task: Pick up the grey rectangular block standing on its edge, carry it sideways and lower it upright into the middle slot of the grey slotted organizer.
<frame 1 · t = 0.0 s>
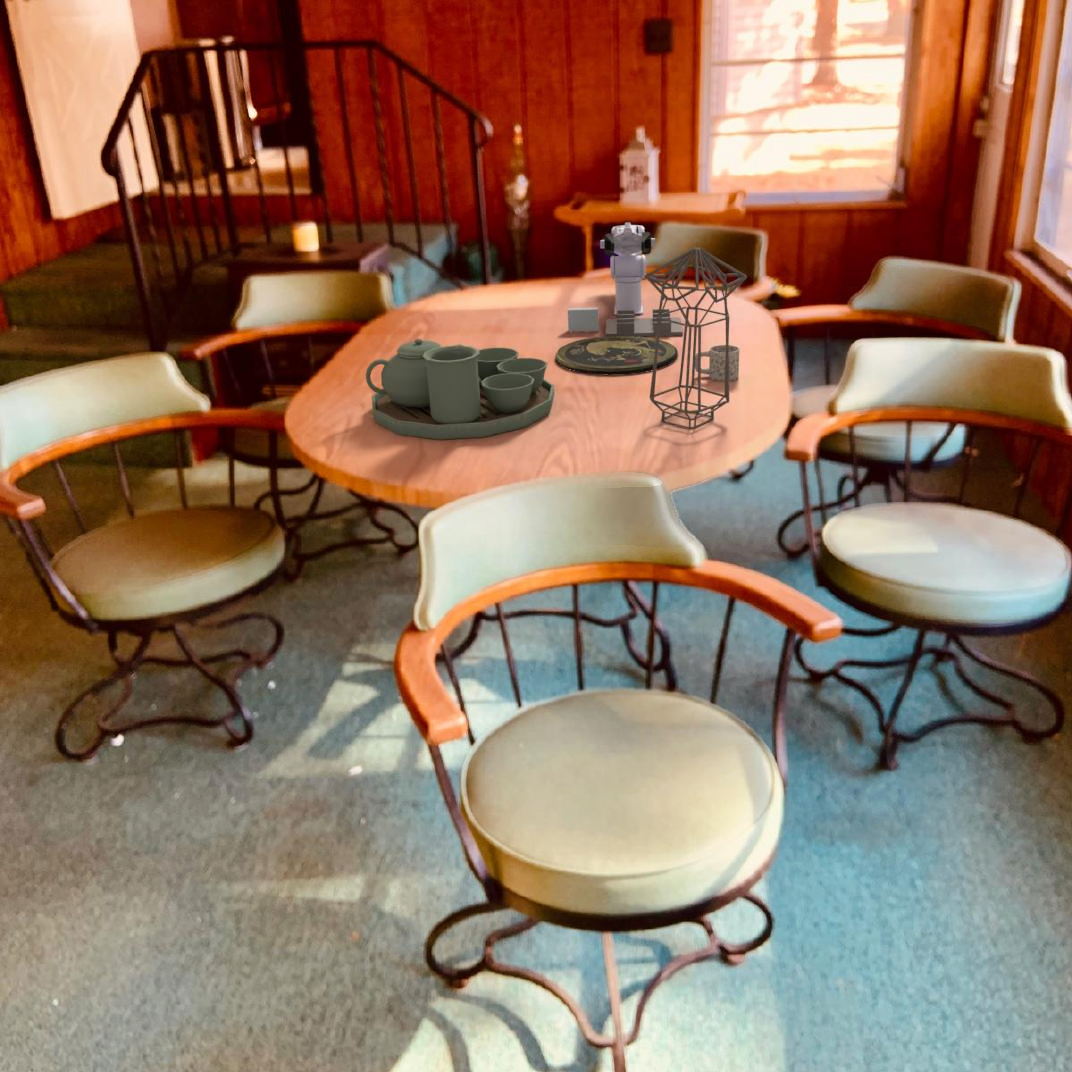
hand: (627, 246, 276), 22 cm above the table, tool horizontal, fingers open, 7 cm apart
tea set: (463, 410, 235), on the table
grey rectangular block: (583, 331, 287), on the table
geometric lantern: (692, 421, 220), on the table
decorative plate: (616, 359, 264), on the table
mug: (716, 377, 246), on the table
grey slotted organizer: (643, 329, 285), on the table
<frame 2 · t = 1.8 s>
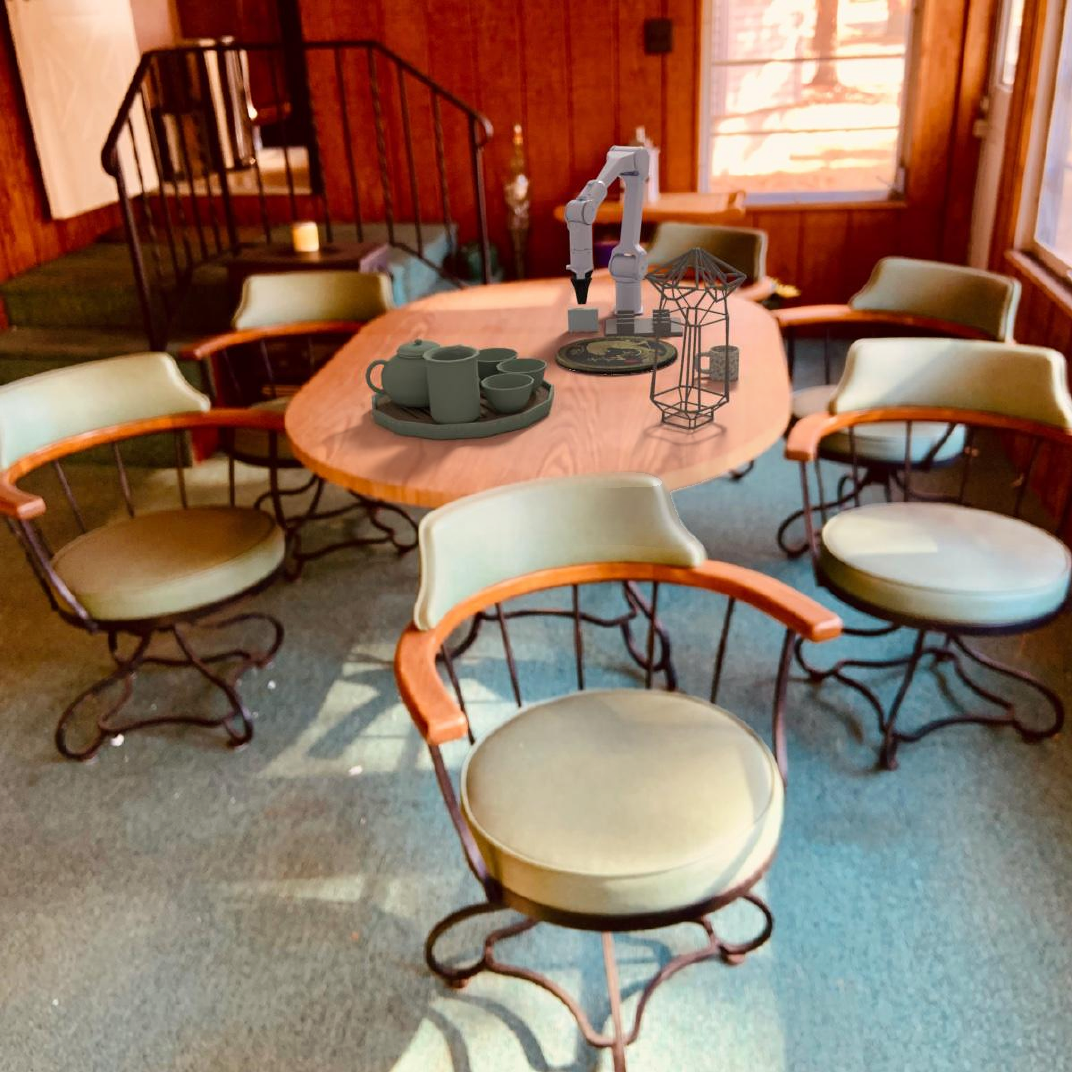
hand: (582, 300, 283), 8 cm above the table, tool pointing down, fingers open, 7 cm apart
nothing on the table moved.
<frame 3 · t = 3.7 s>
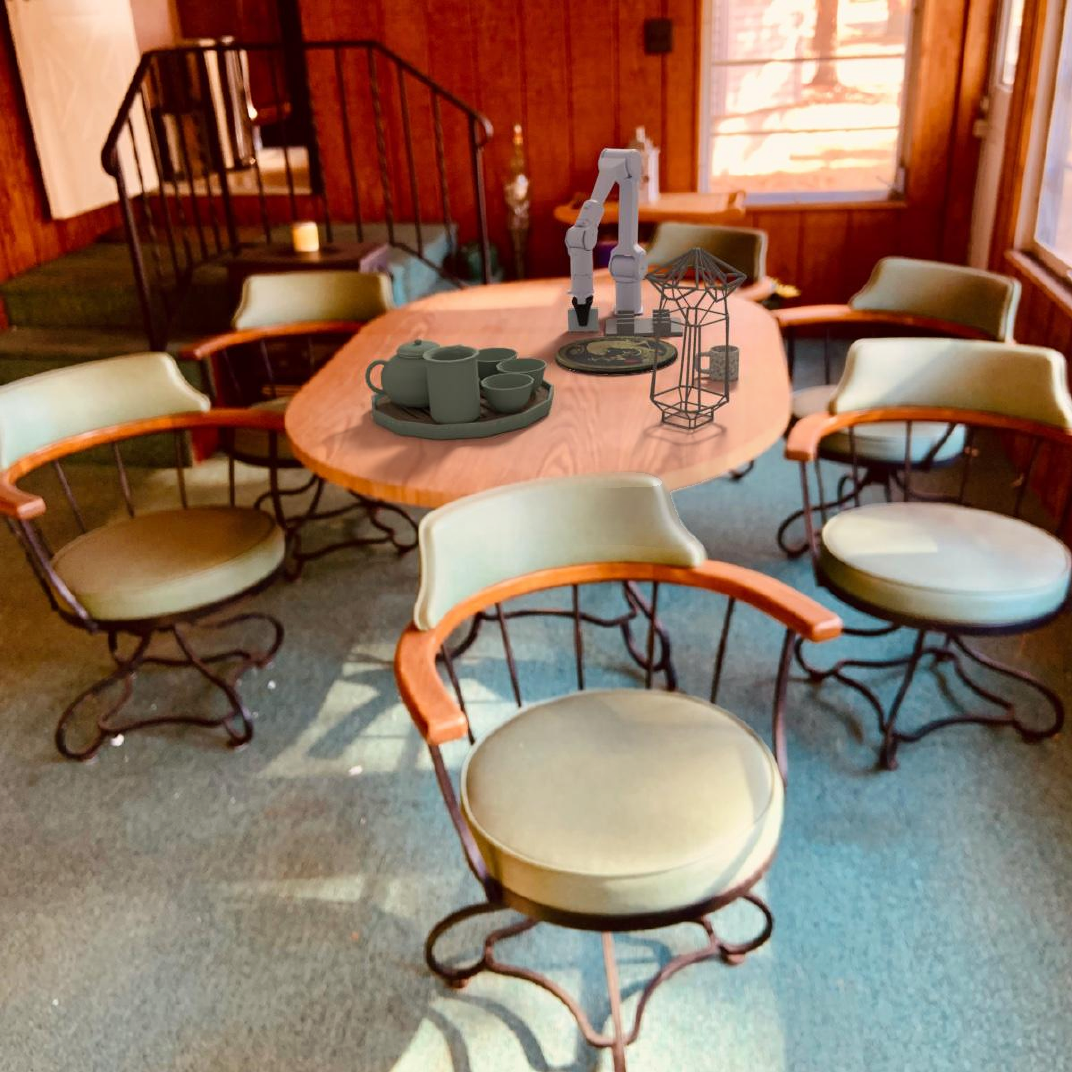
hand: (583, 324, 286), 2 cm above the table, tool pointing down, fingers closed on grey rectangular block, 2 cm apart
grey rectangular block: (583, 330, 287), on the table, touching gripper
everything else where it was.
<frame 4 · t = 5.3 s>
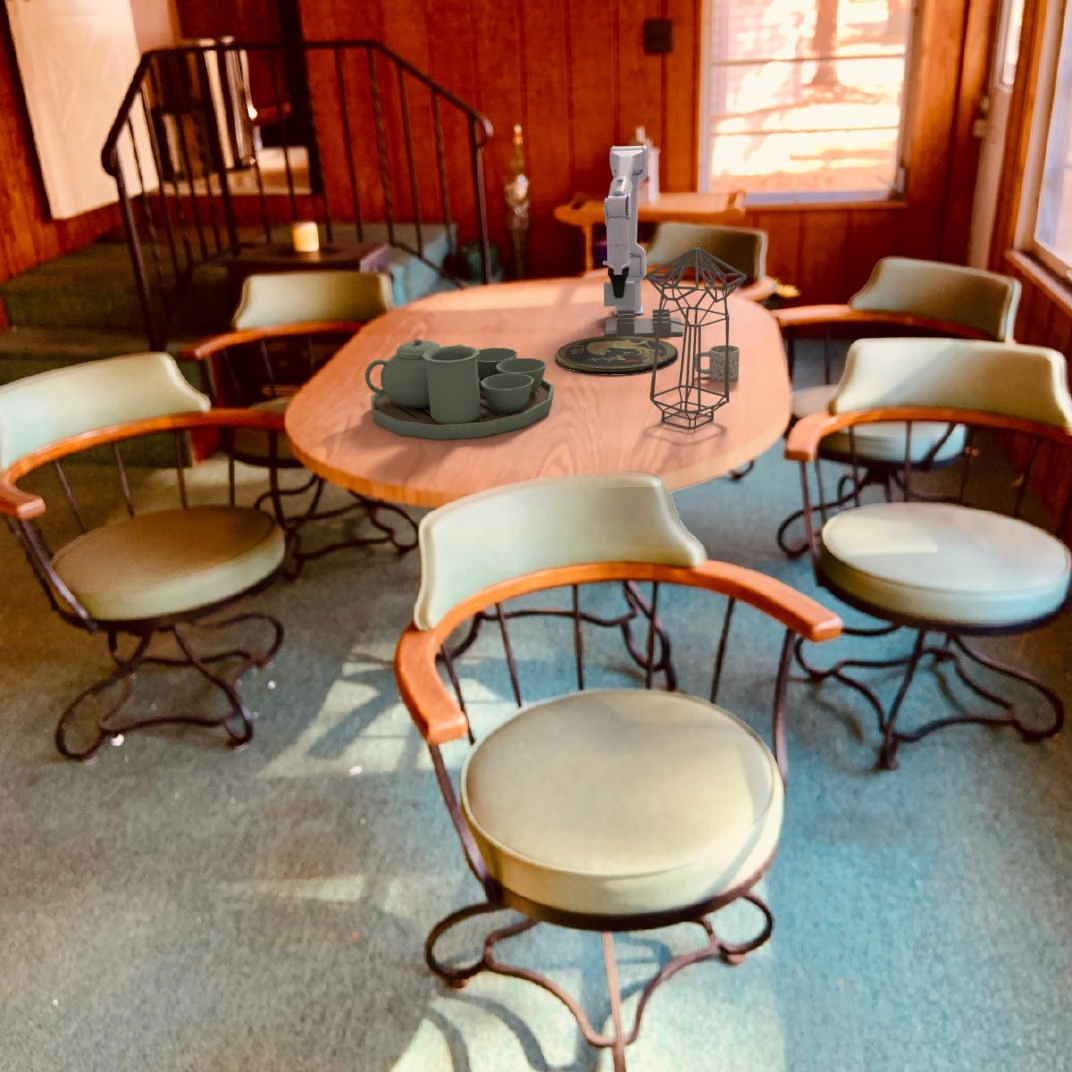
hand: (619, 296, 282), 9 cm above the table, tool pointing down, fingers closed on grey rectangular block
grey rectangular block: (619, 305, 283), point 7 cm above the table, touching gripper
everything else where it was.
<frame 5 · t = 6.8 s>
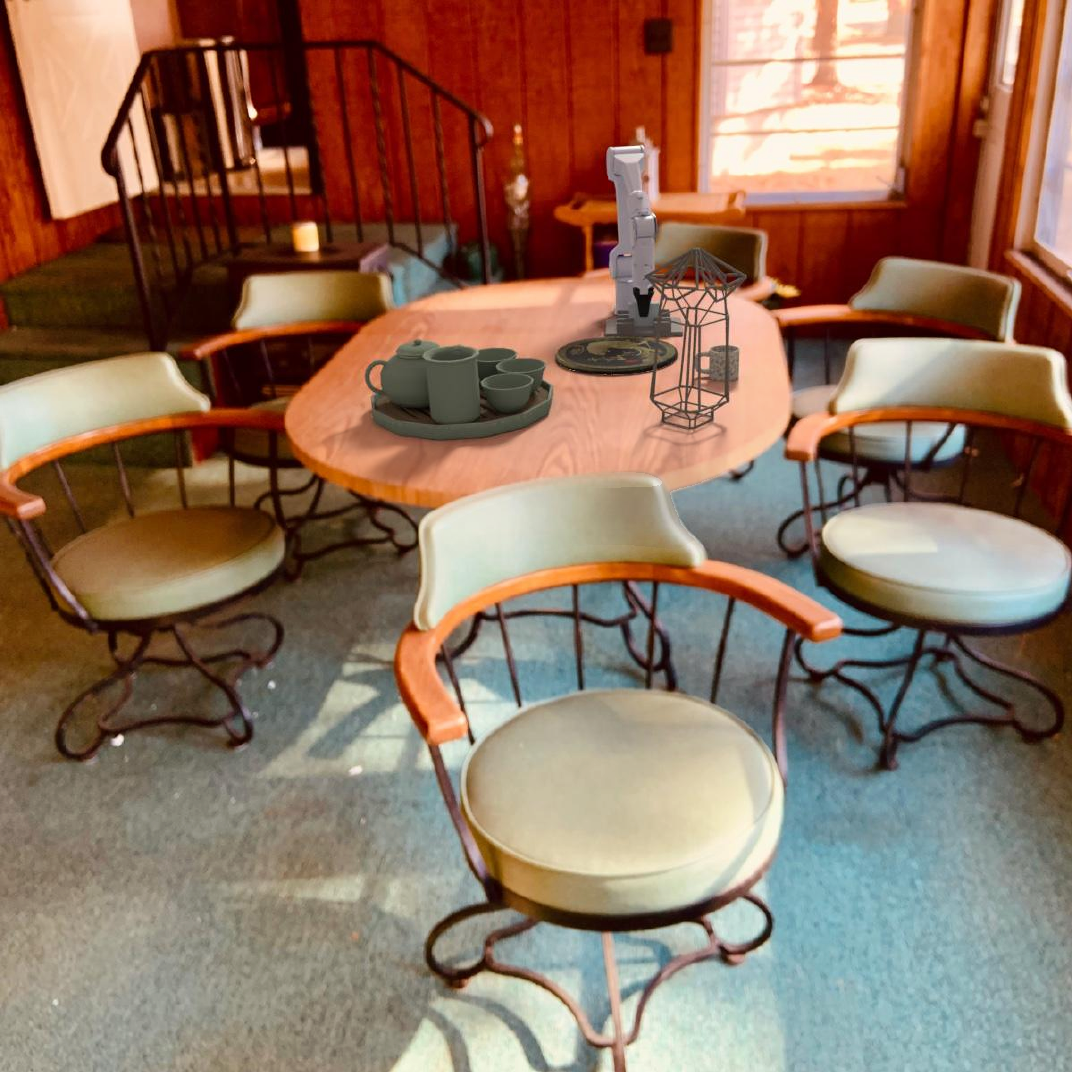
hand: (643, 315, 284), 4 cm above the table, tool pointing down, fingers closed on grey rectangular block, 2 cm apart
grey rectangular block: (644, 325, 285), point 1 cm above the table, touching grey slotted organizer, gripper
everything else where it was.
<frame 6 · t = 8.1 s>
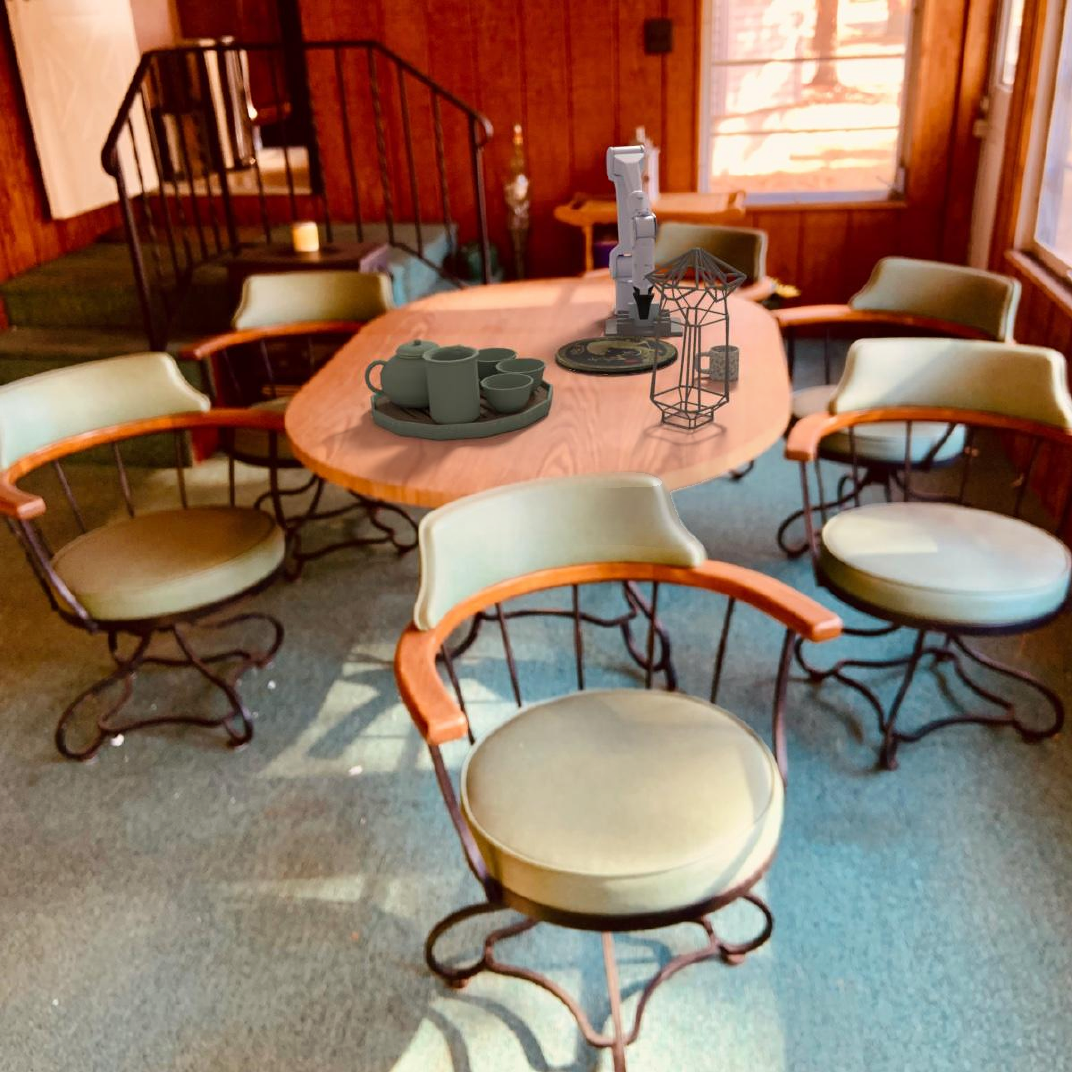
hand: (643, 315, 284), 4 cm above the table, tool pointing down, fingers open, 7 cm apart
grey rectangular block: (644, 325, 285), point 1 cm above the table, touching grey slotted organizer
everything else where it was.
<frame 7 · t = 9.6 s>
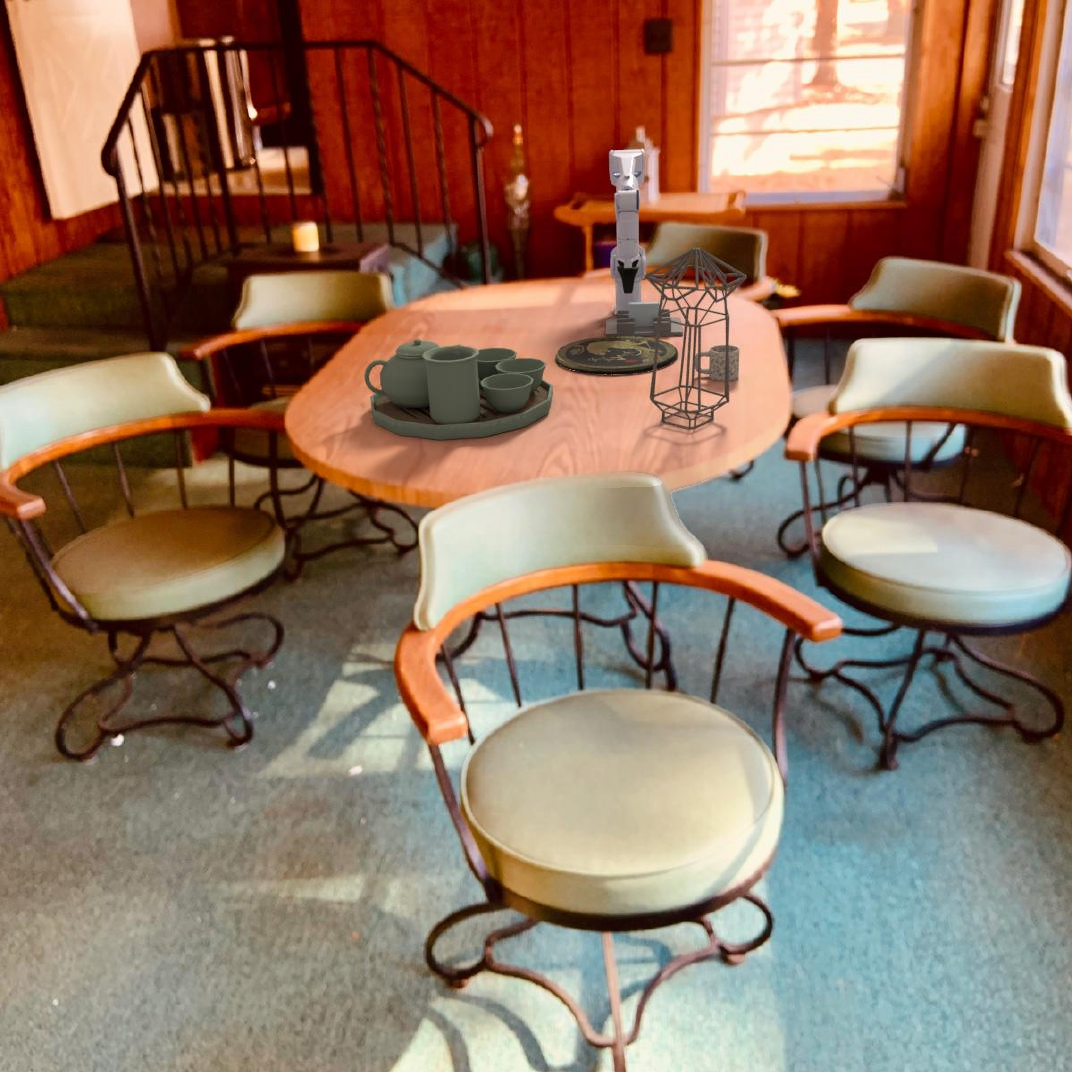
hand: (628, 289, 286), 9 cm above the table, tool pointing down, fingers open, 7 cm apart
nothing on the table moved.
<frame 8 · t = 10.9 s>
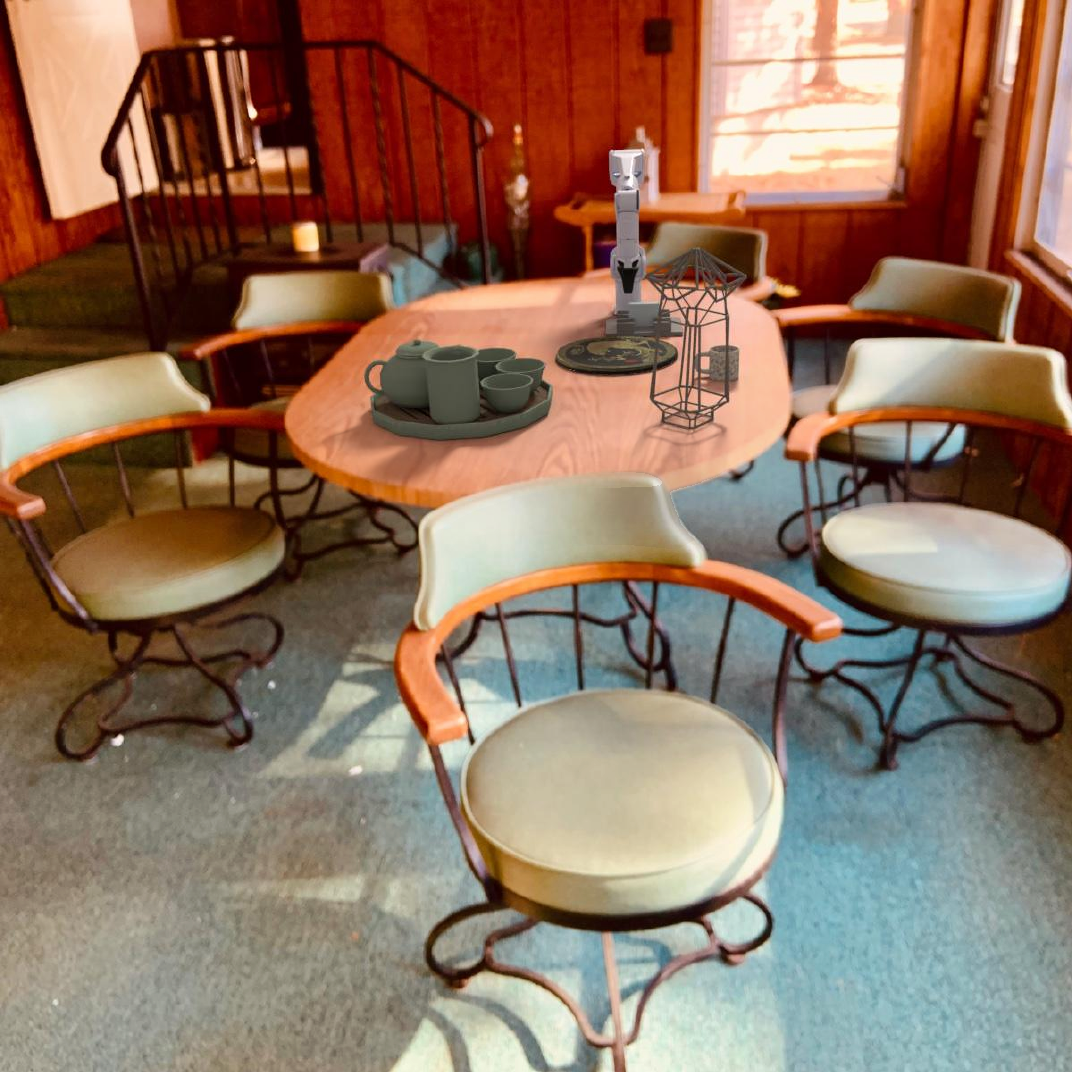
hand: (628, 289, 286), 9 cm above the table, tool pointing down, fingers open, 7 cm apart
nothing on the table moved.
at the end: grey rectangular block 0.1 cm off-centre on the grey slotted organizer, point 1.0 cm above the grey slotted organizer's base; grey rectangular block tilted 0°; the gripper is holding nothing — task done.
